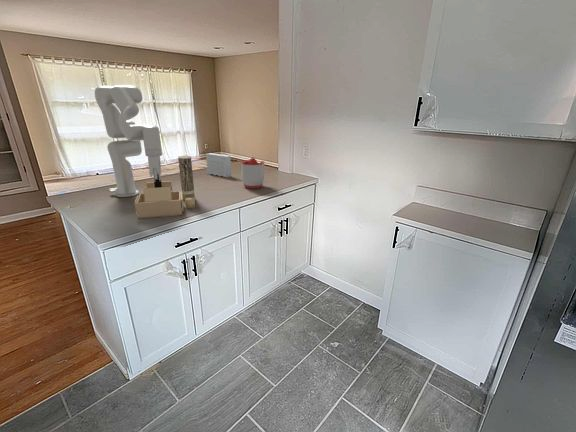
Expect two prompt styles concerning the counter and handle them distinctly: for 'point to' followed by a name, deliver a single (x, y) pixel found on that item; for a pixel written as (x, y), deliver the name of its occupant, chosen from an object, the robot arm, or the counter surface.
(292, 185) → the counter surface
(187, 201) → the white-capped tan cylinder
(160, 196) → the near flap
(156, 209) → the carton
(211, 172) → the skincare box
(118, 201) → the counter surface
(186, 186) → the paper tube
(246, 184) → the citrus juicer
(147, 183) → the far flap
